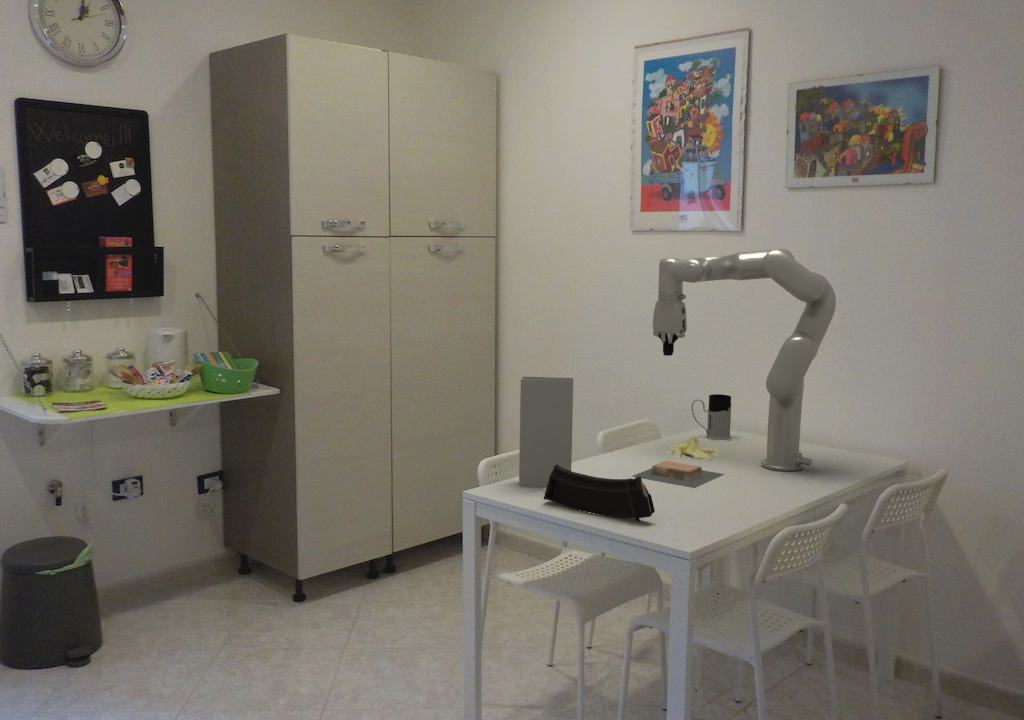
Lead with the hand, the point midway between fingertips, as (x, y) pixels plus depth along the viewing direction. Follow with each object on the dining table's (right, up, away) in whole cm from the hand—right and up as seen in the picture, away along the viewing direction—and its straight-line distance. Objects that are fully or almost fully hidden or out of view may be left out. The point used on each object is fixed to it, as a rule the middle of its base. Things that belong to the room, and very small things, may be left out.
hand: (668, 355), depth 298 cm
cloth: (+8, -33, +5) cm, 34 cm away
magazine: (-28, -40, -62) cm, 79 cm away
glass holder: (+20, -29, +29) cm, 46 cm away
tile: (-6, -33, -21) cm, 40 cm away
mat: (-1, -36, -25) cm, 44 cm away
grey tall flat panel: (-40, -37, -36) cm, 65 cm away
